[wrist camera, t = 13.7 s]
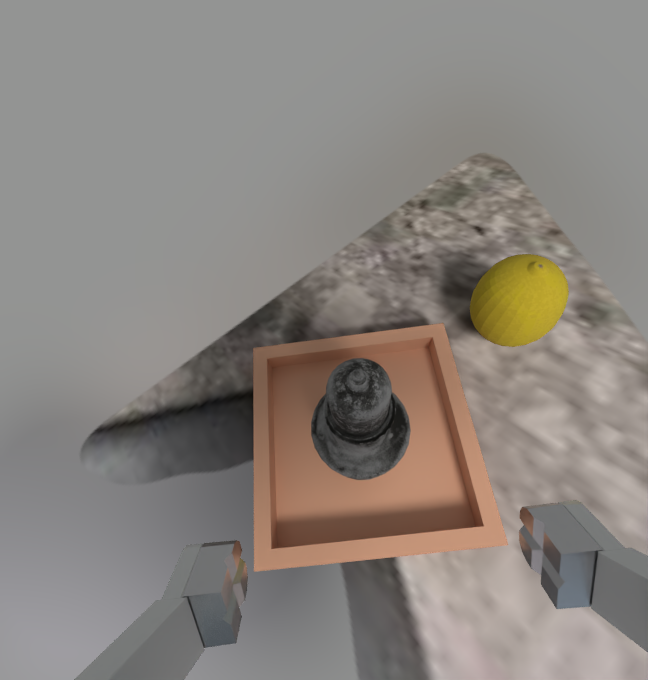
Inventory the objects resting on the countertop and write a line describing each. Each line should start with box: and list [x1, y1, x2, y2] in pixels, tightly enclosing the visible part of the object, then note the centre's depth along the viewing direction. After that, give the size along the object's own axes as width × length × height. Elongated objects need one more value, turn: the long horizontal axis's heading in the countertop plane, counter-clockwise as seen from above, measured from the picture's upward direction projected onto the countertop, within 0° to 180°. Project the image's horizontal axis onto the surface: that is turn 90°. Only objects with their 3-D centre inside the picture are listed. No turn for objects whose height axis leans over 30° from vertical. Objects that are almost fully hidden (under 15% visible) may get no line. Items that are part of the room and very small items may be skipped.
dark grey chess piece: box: [311, 358, 411, 480], centre depth 19 cm, size 6×6×12 cm
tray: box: [253, 323, 508, 571], centre depth 24 cm, size 14×14×2 cm
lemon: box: [470, 254, 569, 347], centre depth 24 cm, size 6×6×8 cm
